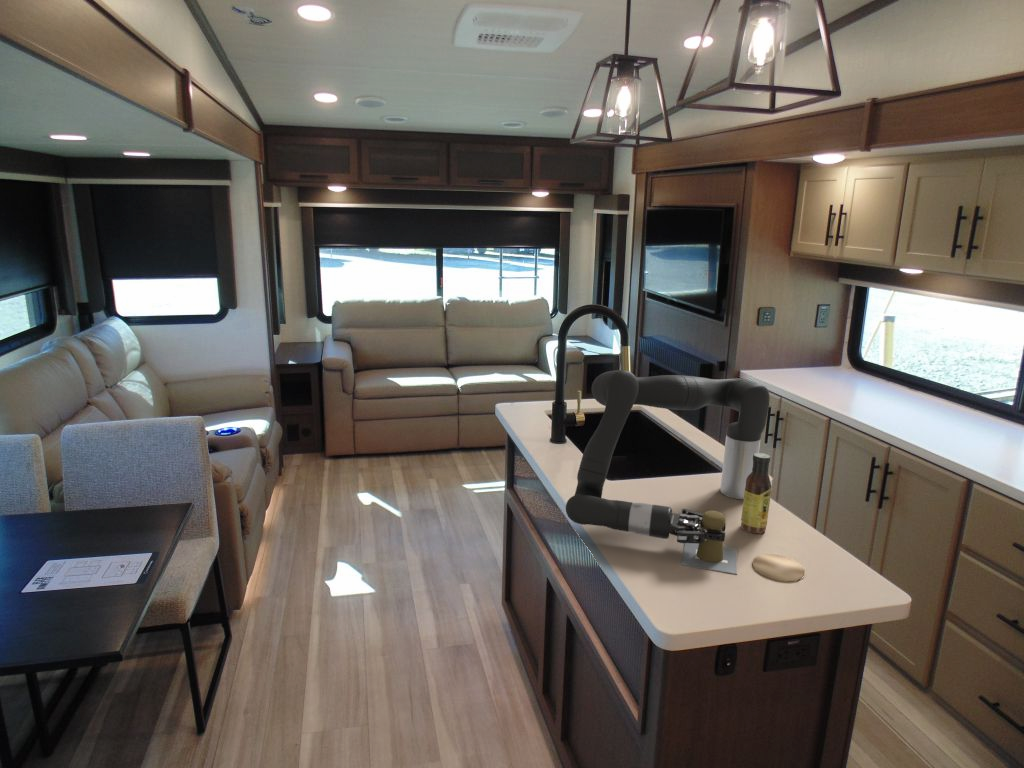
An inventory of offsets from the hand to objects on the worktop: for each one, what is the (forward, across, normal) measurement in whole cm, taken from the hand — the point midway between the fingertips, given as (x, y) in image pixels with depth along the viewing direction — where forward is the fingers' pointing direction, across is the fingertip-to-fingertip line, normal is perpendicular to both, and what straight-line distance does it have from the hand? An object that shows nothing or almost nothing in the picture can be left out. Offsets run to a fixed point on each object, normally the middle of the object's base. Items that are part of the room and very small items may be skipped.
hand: (724, 531), depth 154 cm
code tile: (-3, 0, +7) cm, 8 cm away
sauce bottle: (+7, +19, +7) cm, 22 cm away
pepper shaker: (-3, 0, +7) cm, 8 cm away
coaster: (+12, 0, +7) cm, 14 cm away
